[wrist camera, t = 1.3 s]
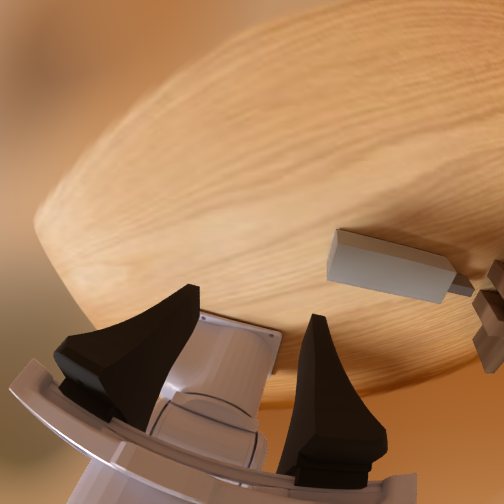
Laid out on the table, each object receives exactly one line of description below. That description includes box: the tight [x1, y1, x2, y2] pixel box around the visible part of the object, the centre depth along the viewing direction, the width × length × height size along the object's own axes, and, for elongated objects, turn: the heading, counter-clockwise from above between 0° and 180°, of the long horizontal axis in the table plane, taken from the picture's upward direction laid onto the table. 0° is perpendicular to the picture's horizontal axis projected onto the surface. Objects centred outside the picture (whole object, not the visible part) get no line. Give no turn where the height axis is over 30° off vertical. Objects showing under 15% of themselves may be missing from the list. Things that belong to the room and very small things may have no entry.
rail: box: [327, 229, 475, 304], centre depth 18 cm, size 13×3×2 cm, turn 84°
